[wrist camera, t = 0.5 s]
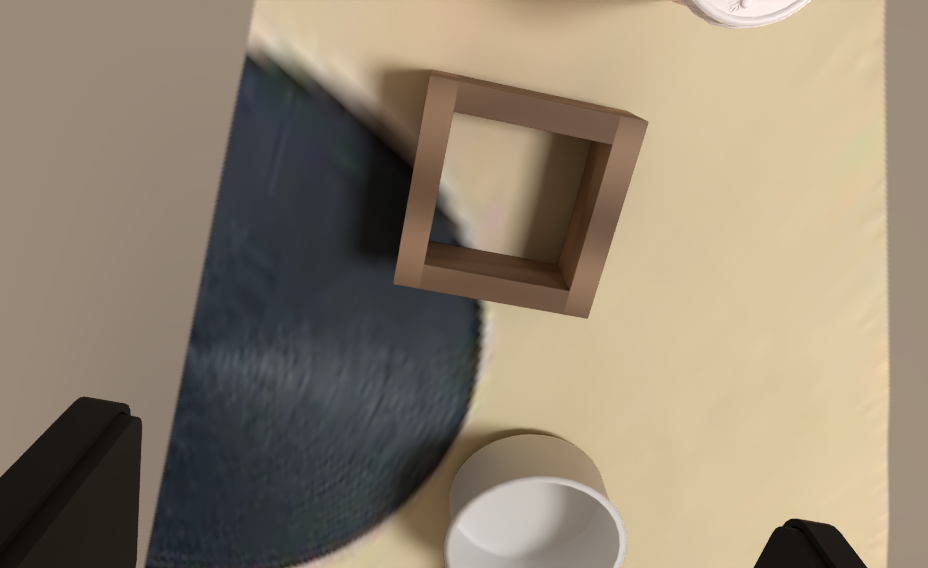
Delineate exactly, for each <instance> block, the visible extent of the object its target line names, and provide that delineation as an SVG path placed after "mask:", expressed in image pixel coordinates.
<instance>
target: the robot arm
mask: <svg viewBox="0 0 928 568" xmlns="http://www.w3.org/2000/svg"><path fill="white" fill-rule="evenodd" d="M141 440H142V421H141V419H140V418H139V417H135V416H131V414H130V408H129V406H128V405H127V404H124V403H119V402H113V401H107V400H101V399H95V398H89V397H80V398H79V399H77V400H76V401H75V402H74V403H73V404H72V405H71V406H70V407H69V408H68V409H67V410H66V411H65V412H64V413H63V414H62V415H61V416H60V417H59V418H58V419H57V420H56V421H55V422H54V423H53V424H52V425H51V426H50V427H49V428H48V429H47V430H46V431H45V432H44V434H42V435H41V436H40V438H38V440H36V441H35V443H34V444H33V445H32V446H31V447H30V448H29V449H28V450H27V451H26V452H25V453H24V454H23V455H22V456H21V457H20V458H19V459H18V460H17V461H16V462H15V463H14V464H13V465H12V466H11V467H10V468H9V469H8V470H7V471H6V472H5V473H4V474H3V475H2V476H1V477H0V568H135V567H136V561H137V537H138V513H139V489H140V462H141ZM754 568H867V567H866V565H865V564H864V563H863V561H862V560H861V559H860V558H859V556H858V555H857V554H856V552H855V551H854V550H853V548H852V547H851V546H850V544H849V543H848V542H847V541H846V539H845V538H844V537H843V535H842V534H841V533H840V532H839V531H838V530H837V529H836V528H835V527H834V526H831V525H829V524H825V523H819V522H813V521H807V520H801V519H790V520H788V521H786V522H785V524H784V525H783V526H782V527H778V528H776V529H775V530H774V531H773V533H772V535H771V537H770V538H769V540H768V542H767V544H766V546H765V548H764V549H763V551H762V553H761V555H760V557H759V559H758V561H757V562H756V564H755V566H754Z"/></svg>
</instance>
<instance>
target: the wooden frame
mask: <svg viewBox="0 0 928 568" xmlns="http://www.w3.org/2000/svg"><path fill="white" fill-rule="evenodd" d="M453 112H458V113H463V114H468V115H472V116H477V117H482V118H487V119H492V120H496V121H501V122H506V123H511V124H516V125H520V126H525V127H530V128H535V129H540V130H545V131H549V132H554V133H559V134H564V135H569V136H573V137H578V138H583V139H588V140H593V141H592V145H591V149H590V152H589V156H588V159H587V163H586V166H585V170H584V174H583V177H582V181H581V184H580V188H579V191H578V195H577V199H576V202H575V206H574V209H573V213H572V216H571V220H570V224H569V227H568V231H567V234H566V238H565V241H564V245H563V249H562V252H561V256H560V259H559V263H558V265H556V264H551V263H545V262H540V261H534V260H529V259H524V258H518V257H513V256H508V255H502V254H497V253H492V252H486V251H481V250H475V249H470V248H465V247H459V246H454V245H449V244H443V243H438V242H433V241H429V235H430V230H431V225H432V220H433V215H434V210H435V204H436V199H437V194H438V189H439V184H440V179H441V173H442V168H443V163H444V158H445V153H446V148H447V142H448V137H449V132H450V127H451V122H452V117H453ZM647 126H648V121H646V120H644V119H642V118H640V117H638V116H636V115H634V114H632V113H630V112H627V111H623V110H619V109H614V108H609V107H605V106H600V105H595V104H591V103H586V102H581V101H577V100H572V99H567V98H563V97H558V96H553V95H549V94H544V93H539V92H535V91H530V90H525V89H521V88H516V87H511V86H507V85H502V84H497V83H493V82H488V81H483V80H479V79H474V78H469V77H465V76H460V75H455V74H451V73H446V72H441V71H437V70H432V71H431V74H430V78H429V84H428V90H427V95H426V101H425V107H424V112H423V118H422V124H421V129H420V135H419V141H418V147H417V152H416V158H415V164H414V169H413V175H412V181H411V186H410V192H409V198H408V203H407V209H406V215H405V220H404V226H403V232H402V237H401V243H400V249H399V255H398V260H397V266H396V272H395V277H394V283H393V284H396V285H402V286H408V287H413V288H419V289H424V290H430V291H436V292H441V293H447V294H452V295H458V296H464V297H469V298H475V299H480V300H486V301H492V302H497V303H503V304H508V305H514V306H520V307H525V308H531V309H536V310H542V311H548V312H553V313H559V314H564V315H570V316H576V317H581V318H587V319H588V316H589V313H590V310H591V306H592V303H593V300H594V297H595V294H596V290H597V287H598V284H599V281H600V277H601V274H602V271H603V268H604V264H605V261H606V258H607V255H608V252H609V248H610V245H611V242H612V239H613V235H614V232H615V229H616V226H617V223H618V219H619V216H620V213H621V210H622V206H623V203H624V200H625V197H626V193H627V190H628V187H629V184H630V181H631V177H632V174H633V171H634V168H635V164H636V161H637V158H638V155H639V152H640V148H641V145H642V142H643V139H644V135H645V132H646V129H647Z"/></svg>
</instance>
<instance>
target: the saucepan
mask: <svg viewBox="0 0 928 568" xmlns="http://www.w3.org/2000/svg"><path fill="white" fill-rule="evenodd" d="M626 549H627V532H626V529H625V526H624V523H623V519H622V517H621V516H620V514H619V513H618V511H617V510H616V508H615V506H614V505H613V504H612V503H611V502H610V501H609V498H608V495H607V493H606V490H605V487H604V484H603V481H602V478H601V475H600V472H599V470H598V468H597V467H596V465H595V464H594V462H593V460H592V459H591V458H590V457H589V456H588V455H587V454H586V453H585V452H584V451H582V450H581V449H579V448H578V447H576V446H575V445H573V444H571V443H569V442H567V441H564V440H562V439H559V438H556V437H551V436H546V435H535V434H524V435H517V436H510V437H507V438H503V439H500V440H497V441H494V442H492V443H490V444H488V445H486V446H484V447H482V448H481V449H479V450H478V451H477V452H475V453H474V454H473V455H471V456H470V457H469V458H468V459H467V460H466V461H465V462H464V463H463V465H462V466H461V467H460V468H459V470H458V472H457V474H456V475H455V477H454V479H453V482H452V485H451V489H450V498H449V527H448V530H447V533H446V536H445V539H444V549H443V557H444V562H445V567H446V568H621V566H622V563H623V561H624V559H625V554H626Z"/></svg>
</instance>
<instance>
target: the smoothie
mask: <svg viewBox="0 0 928 568" xmlns="http://www.w3.org/2000/svg"><path fill="white" fill-rule="evenodd" d="M670 1H673V2H676V3H678V4H681V5H684V6H687V7H688V8H689V9H690V10H691V11H692V12H693V13H694V14H696V15H697V16H699V17H701V18H702V19H704V20H705V21H707V22H708V23H710V24H713V25H717V26H721V27H725V28H729V29H741V28H754V27H758V26H764V25H768V24H772V23H774V22H777V21H780V20H782V19H784V18H786V17H788V16H790V15H792V14H793V13H795V12H797V11H798V10H799V9H801V8H802V7H804V6H805V5H806V4H807V3H808V2H810V1H811V0H670Z"/></svg>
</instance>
